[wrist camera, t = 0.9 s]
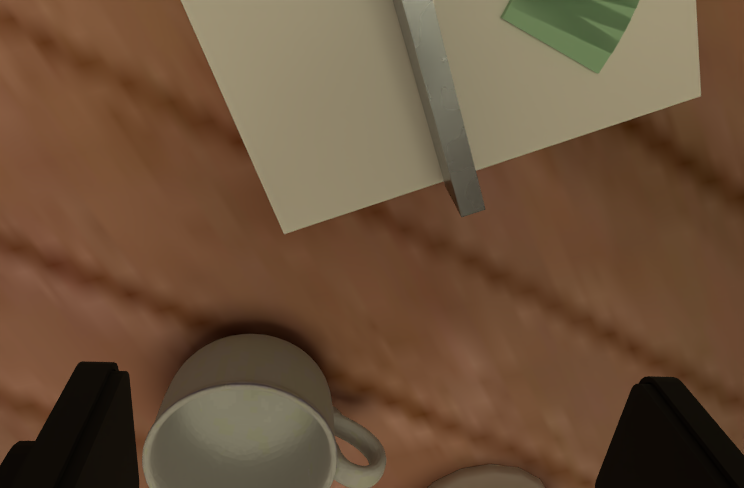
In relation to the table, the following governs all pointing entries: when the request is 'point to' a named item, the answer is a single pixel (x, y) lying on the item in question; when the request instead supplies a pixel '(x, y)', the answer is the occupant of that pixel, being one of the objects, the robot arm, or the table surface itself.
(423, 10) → the grey rectangular bar
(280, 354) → the teacup
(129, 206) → the table surface
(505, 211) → the table surface
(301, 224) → the dial board
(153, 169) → the table surface
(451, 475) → the vase
